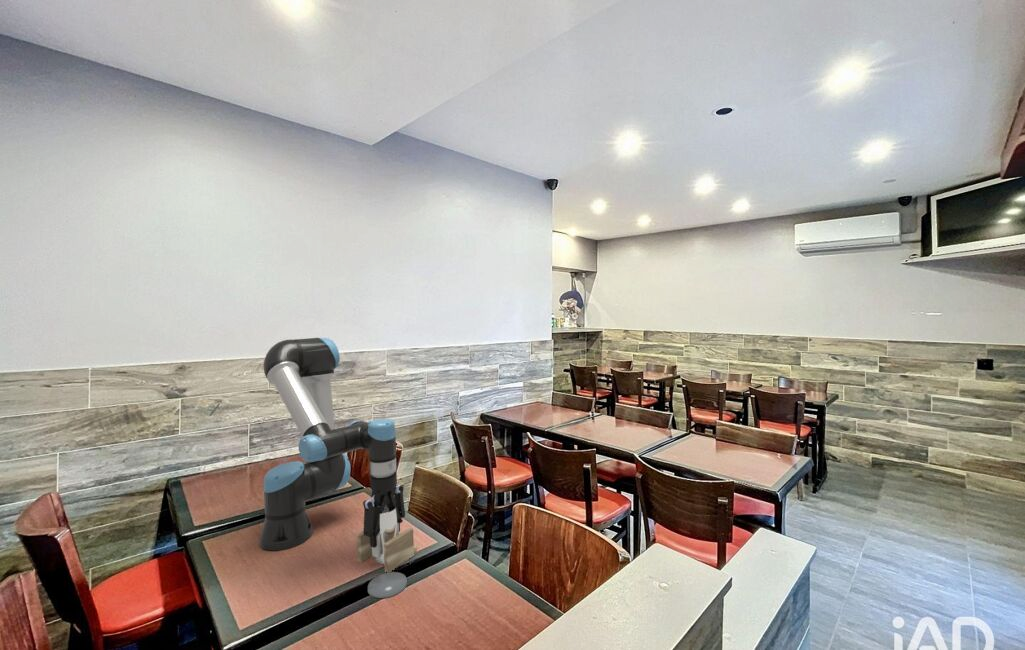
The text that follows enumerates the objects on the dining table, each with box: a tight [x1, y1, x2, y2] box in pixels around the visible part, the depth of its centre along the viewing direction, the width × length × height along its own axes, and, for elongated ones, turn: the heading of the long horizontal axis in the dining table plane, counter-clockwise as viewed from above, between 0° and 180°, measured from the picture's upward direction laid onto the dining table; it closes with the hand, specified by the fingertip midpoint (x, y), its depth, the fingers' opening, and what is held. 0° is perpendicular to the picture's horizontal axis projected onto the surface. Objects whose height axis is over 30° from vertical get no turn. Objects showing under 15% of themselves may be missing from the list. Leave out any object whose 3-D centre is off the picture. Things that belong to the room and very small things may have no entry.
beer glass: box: [375, 505, 397, 565], centre depth 126 cm, size 7×7×15 cm
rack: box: [356, 527, 418, 573], centre depth 126 cm, size 12×11×8 cm
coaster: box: [367, 571, 408, 599], centre depth 113 cm, size 10×10×1 cm
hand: (386, 549), depth 126 cm, fingers closed on beer glass, 7 cm apart
